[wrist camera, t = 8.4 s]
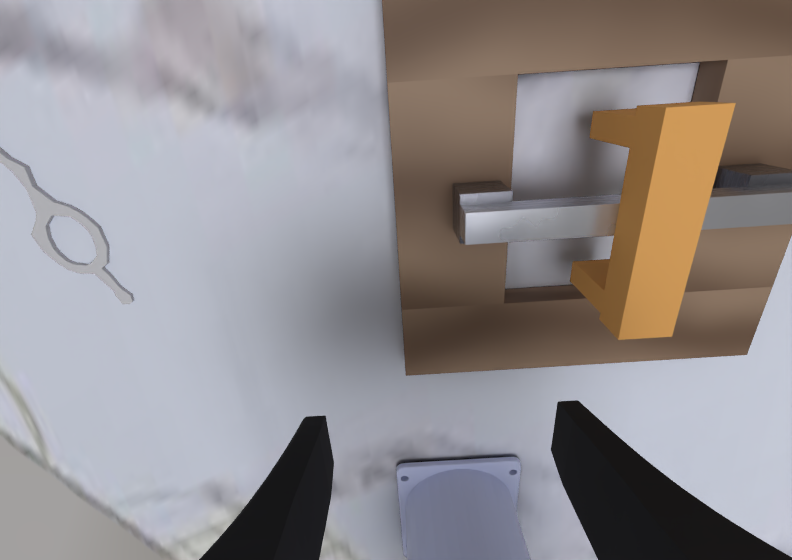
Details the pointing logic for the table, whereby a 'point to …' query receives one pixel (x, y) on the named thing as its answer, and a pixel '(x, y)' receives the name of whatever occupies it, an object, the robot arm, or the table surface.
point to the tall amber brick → (654, 212)
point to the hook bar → (614, 208)
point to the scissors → (51, 207)
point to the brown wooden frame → (493, 155)
